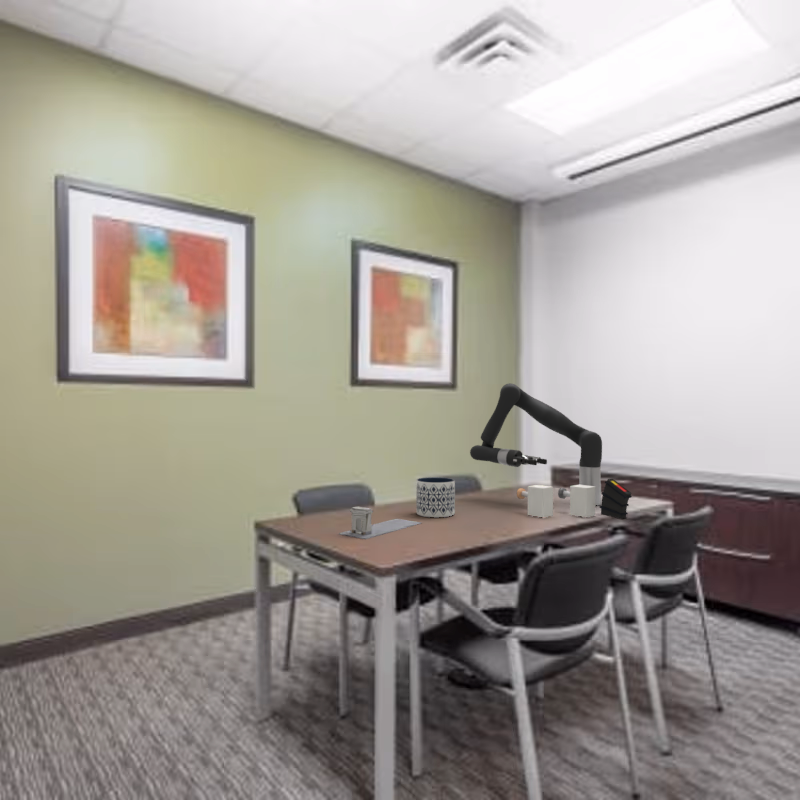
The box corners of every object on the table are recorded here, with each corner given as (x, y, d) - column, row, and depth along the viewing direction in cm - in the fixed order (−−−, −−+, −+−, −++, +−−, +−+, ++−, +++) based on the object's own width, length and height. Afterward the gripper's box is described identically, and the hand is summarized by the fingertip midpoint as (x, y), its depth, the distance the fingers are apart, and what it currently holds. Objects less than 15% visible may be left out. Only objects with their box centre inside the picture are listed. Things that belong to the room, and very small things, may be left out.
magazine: (600, 508, 253) (612, 478, 247) (622, 526, 242) (636, 496, 237) (594, 509, 251) (606, 478, 245) (616, 527, 241) (629, 496, 235)
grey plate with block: (338, 535, 210) (338, 508, 210) (396, 520, 236) (396, 496, 236) (365, 540, 202) (365, 512, 202) (421, 524, 229) (422, 499, 229)
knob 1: (523, 497, 253) (523, 487, 253) (539, 500, 247) (539, 489, 247) (516, 499, 250) (516, 488, 250) (533, 501, 244) (533, 491, 244)
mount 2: (579, 512, 251) (579, 484, 251) (595, 515, 245) (595, 486, 245) (569, 515, 246) (570, 486, 246) (586, 517, 241) (586, 488, 241)
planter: (412, 511, 253) (413, 477, 253) (449, 510, 256) (449, 476, 256) (420, 518, 238) (421, 482, 238) (459, 517, 241) (459, 481, 241)
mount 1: (537, 513, 250) (537, 484, 250) (553, 516, 244) (553, 486, 244) (527, 515, 245) (527, 486, 245) (543, 518, 239) (543, 488, 239)
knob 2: (563, 497, 255) (563, 487, 255) (581, 500, 248) (581, 489, 248) (558, 498, 252) (558, 488, 252) (576, 501, 245) (576, 490, 245)
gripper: (501, 449, 266) (533, 454, 255) (519, 448, 276) (550, 453, 265) (500, 466, 266) (532, 471, 255) (517, 464, 276) (549, 470, 265)
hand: (541, 462), depth 260 cm, fingers open, 8 cm apart
